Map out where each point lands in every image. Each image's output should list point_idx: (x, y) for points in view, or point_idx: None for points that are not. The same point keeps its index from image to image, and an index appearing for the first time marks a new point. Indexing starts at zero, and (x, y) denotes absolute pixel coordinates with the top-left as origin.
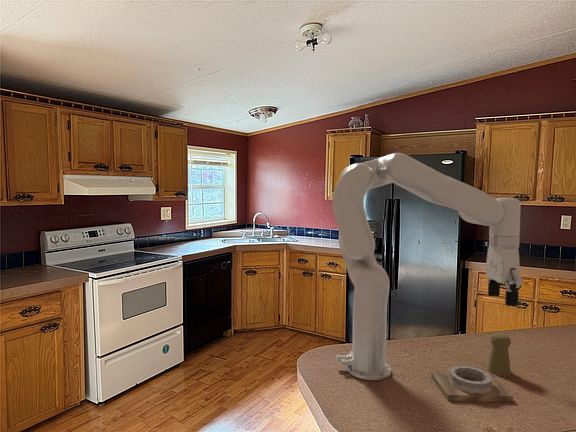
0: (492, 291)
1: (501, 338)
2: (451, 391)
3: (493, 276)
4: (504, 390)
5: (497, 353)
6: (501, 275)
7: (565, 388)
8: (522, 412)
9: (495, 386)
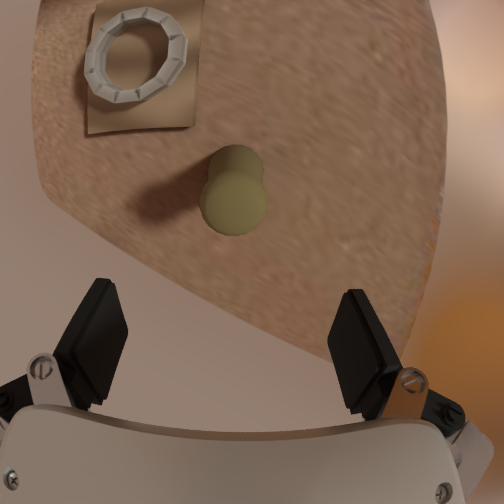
0: (349, 329)
1: (206, 198)
2: (108, 11)
3: (202, 482)
4: (108, 125)
5: (215, 171)
6: (23, 479)
7: (161, 266)
8: (65, 135)
9: (124, 111)
